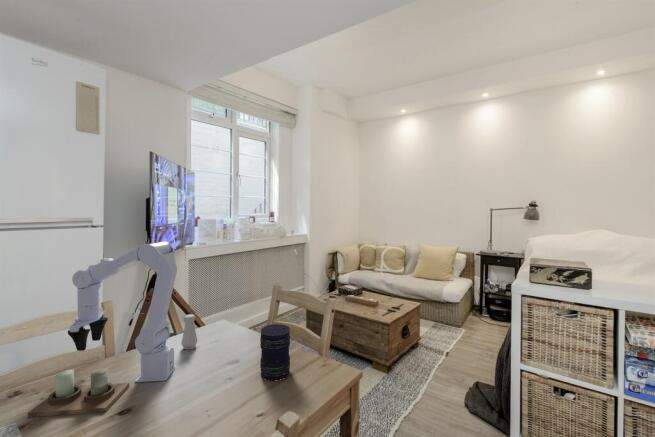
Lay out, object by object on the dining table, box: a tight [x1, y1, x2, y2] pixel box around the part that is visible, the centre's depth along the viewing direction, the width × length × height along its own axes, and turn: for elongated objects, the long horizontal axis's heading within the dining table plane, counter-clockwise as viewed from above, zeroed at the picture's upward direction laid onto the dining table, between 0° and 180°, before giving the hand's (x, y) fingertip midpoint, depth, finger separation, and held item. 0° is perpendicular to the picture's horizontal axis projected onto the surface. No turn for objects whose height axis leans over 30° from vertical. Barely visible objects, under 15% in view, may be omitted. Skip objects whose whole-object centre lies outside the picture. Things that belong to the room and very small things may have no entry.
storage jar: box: [259, 323, 291, 382], centre depth 102 cm, size 10×10×15 cm
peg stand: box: [27, 367, 130, 418], centre depth 87 cm, size 19×12×8 cm, turn 97°
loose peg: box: [54, 369, 75, 399], centre depth 86 cm, size 4×4×7 cm
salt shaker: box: [181, 313, 198, 351], centre depth 121 cm, size 6×6×13 cm
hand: (89, 345), depth 102 cm, fingers open, 7 cm apart
